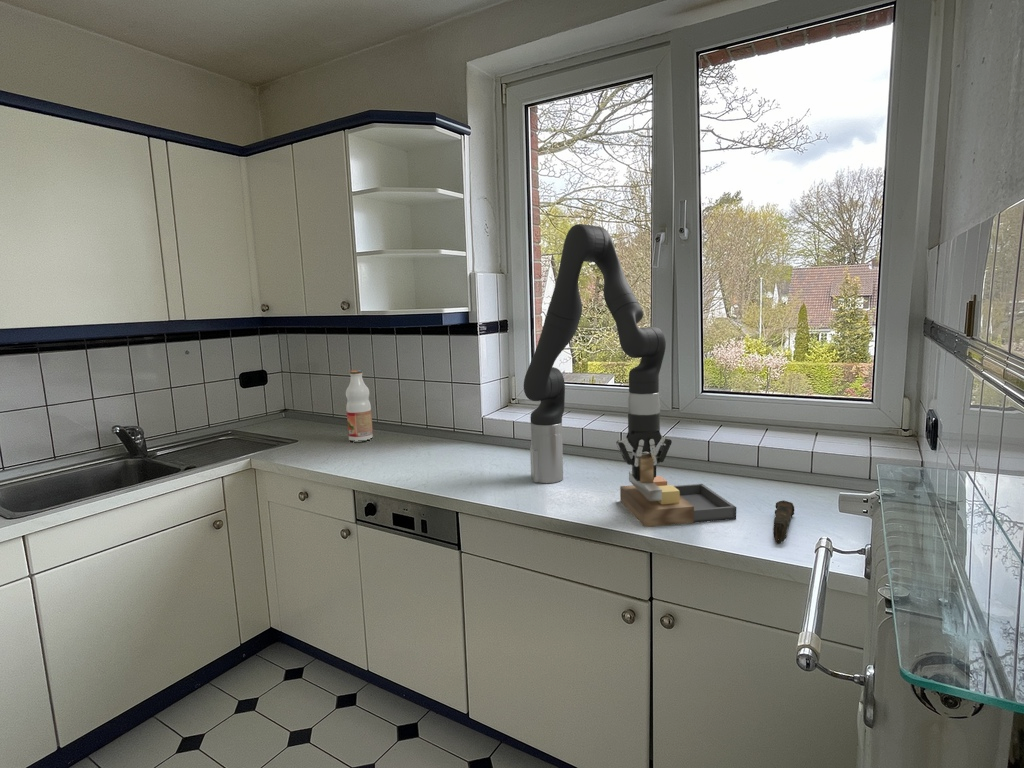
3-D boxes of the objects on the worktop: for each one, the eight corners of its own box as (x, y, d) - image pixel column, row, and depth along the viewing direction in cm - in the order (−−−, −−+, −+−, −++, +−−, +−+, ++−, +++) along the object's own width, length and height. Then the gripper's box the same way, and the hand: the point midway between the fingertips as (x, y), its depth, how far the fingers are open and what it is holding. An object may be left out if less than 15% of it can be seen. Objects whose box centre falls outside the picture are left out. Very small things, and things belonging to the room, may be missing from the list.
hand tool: (775, 514, 140) (776, 496, 139) (794, 517, 138) (794, 498, 137) (763, 544, 124) (764, 523, 123) (784, 547, 122) (784, 526, 121)
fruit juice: (368, 442, 226) (363, 371, 222) (345, 443, 227) (339, 372, 223) (376, 437, 235) (371, 368, 231) (353, 437, 236) (348, 369, 232)
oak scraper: (649, 501, 135) (649, 465, 133) (628, 480, 149) (628, 448, 148) (661, 500, 135) (662, 465, 134) (640, 479, 150) (640, 448, 148)
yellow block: (661, 504, 137) (661, 492, 137) (654, 498, 142) (654, 486, 141) (679, 502, 138) (679, 490, 137) (672, 496, 142) (672, 485, 142)
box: (693, 522, 136) (693, 510, 135) (664, 497, 153) (664, 486, 153) (736, 519, 137) (736, 507, 136) (702, 494, 155) (702, 483, 154)
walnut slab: (644, 527, 134) (644, 510, 134) (620, 501, 152) (620, 486, 151) (693, 522, 136) (693, 506, 135) (664, 497, 153) (664, 482, 153)
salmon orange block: (649, 494, 145) (649, 482, 144) (643, 488, 149) (643, 477, 149) (667, 492, 145) (667, 481, 145) (660, 487, 150) (660, 475, 149)
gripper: (665, 406, 144) (665, 473, 147) (611, 409, 143) (611, 477, 145) (678, 411, 137) (677, 482, 139) (620, 415, 135) (620, 486, 138)
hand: (644, 479), depth 142 cm, fingers closed on oak scraper, 3 cm apart
